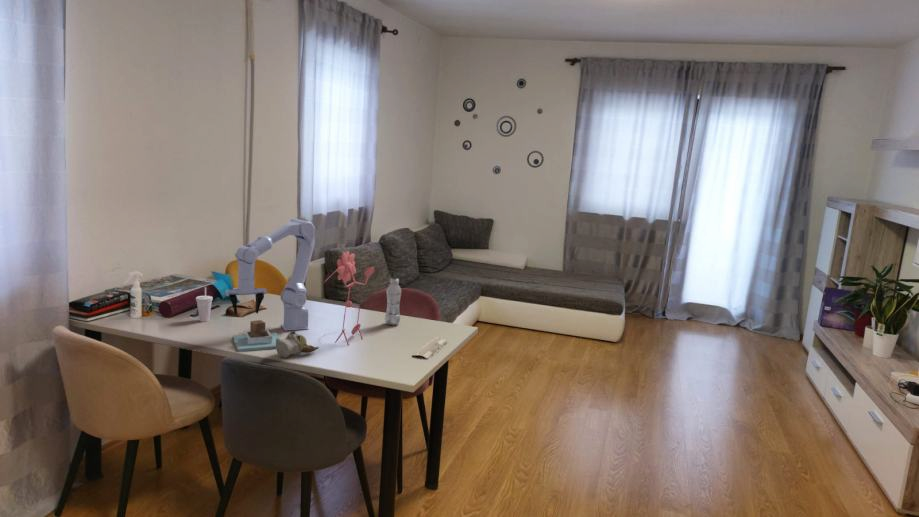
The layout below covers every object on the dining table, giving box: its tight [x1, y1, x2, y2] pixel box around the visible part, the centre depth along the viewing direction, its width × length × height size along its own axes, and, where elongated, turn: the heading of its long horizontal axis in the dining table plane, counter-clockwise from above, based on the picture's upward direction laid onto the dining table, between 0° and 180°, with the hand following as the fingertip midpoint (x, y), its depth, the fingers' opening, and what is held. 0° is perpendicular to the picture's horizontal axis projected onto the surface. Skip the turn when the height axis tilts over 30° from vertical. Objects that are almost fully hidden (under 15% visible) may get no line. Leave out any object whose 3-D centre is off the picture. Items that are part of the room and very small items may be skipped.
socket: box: [243, 329, 272, 345], centre depth 234 cm, size 9×9×2 cm
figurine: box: [319, 250, 376, 346], centre depth 242 cm, size 15×26×35 cm, turn 153°
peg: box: [249, 319, 266, 337], centre depth 233 cm, size 4×4×7 cm
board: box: [232, 332, 281, 353], centre depth 234 cm, size 16×16×1 cm
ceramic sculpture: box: [275, 331, 320, 358], centre depth 224 cm, size 11×9×15 cm
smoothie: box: [195, 286, 214, 323], centre depth 255 cm, size 6×6×14 cm
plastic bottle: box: [384, 277, 402, 326], centre depth 267 cm, size 6×7×20 cm
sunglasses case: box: [225, 299, 268, 319], centre depth 273 cm, size 18×7×7 cm
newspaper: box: [411, 336, 447, 360], centre depth 241 cm, size 24×7×2 cm, turn 164°
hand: (246, 313), depth 238 cm, fingers open, 7 cm apart
